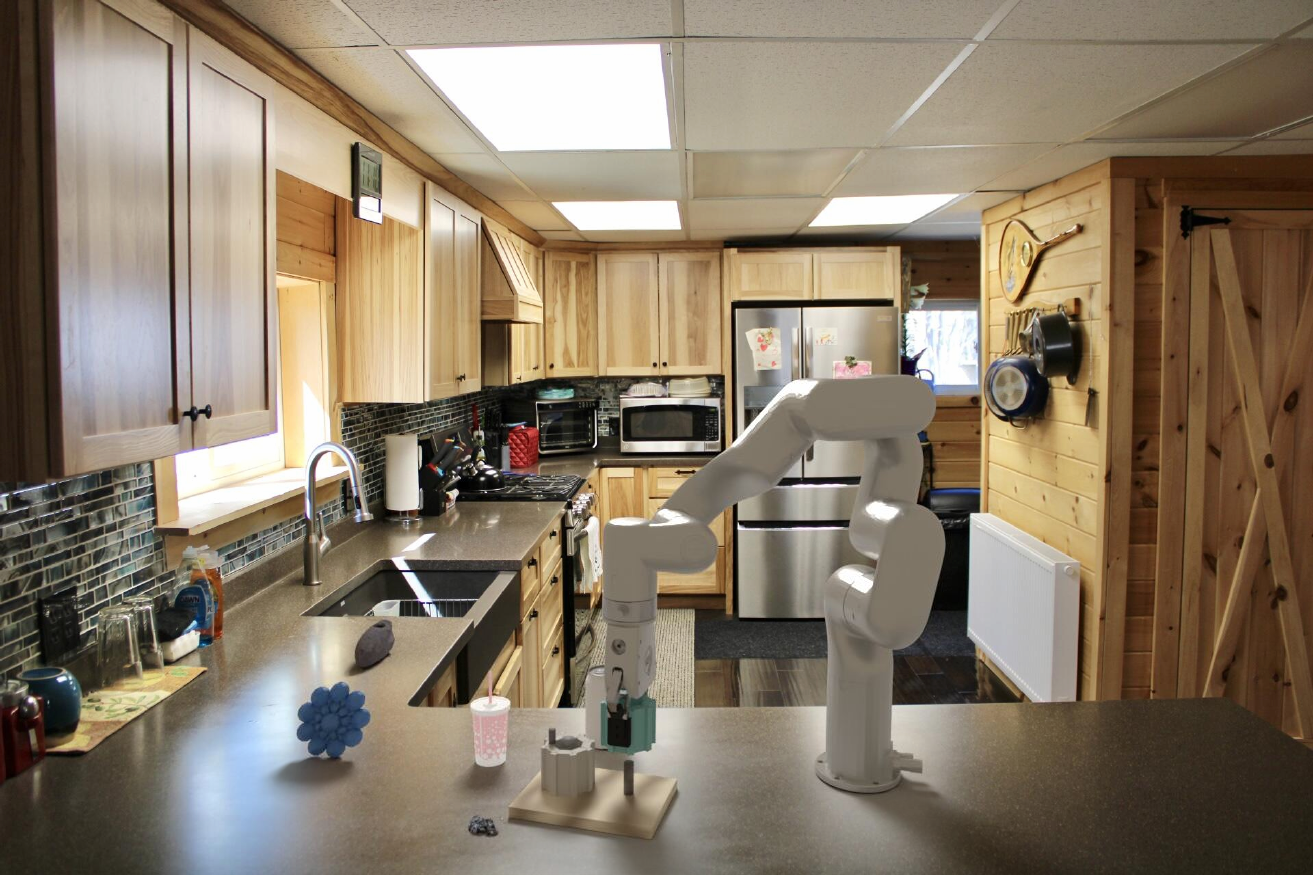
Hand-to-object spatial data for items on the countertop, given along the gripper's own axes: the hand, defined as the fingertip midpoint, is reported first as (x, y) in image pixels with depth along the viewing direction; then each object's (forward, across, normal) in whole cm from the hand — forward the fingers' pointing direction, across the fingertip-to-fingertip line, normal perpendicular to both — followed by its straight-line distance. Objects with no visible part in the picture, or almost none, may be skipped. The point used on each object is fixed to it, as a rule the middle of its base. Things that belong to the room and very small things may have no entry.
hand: (628, 732), depth 118 cm
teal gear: (+1, 0, 0) cm, 1 cm away
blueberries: (+11, -11, +16) cm, 22 cm away
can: (+10, +18, +9) cm, 23 cm away
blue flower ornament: (+11, +2, +48) cm, 50 cm away
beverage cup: (+11, +7, +24) cm, 27 cm away
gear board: (+10, -1, +4) cm, 11 cm away
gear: (+9, 0, +9) cm, 12 cm away
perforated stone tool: (+11, +42, +68) cm, 81 cm away
